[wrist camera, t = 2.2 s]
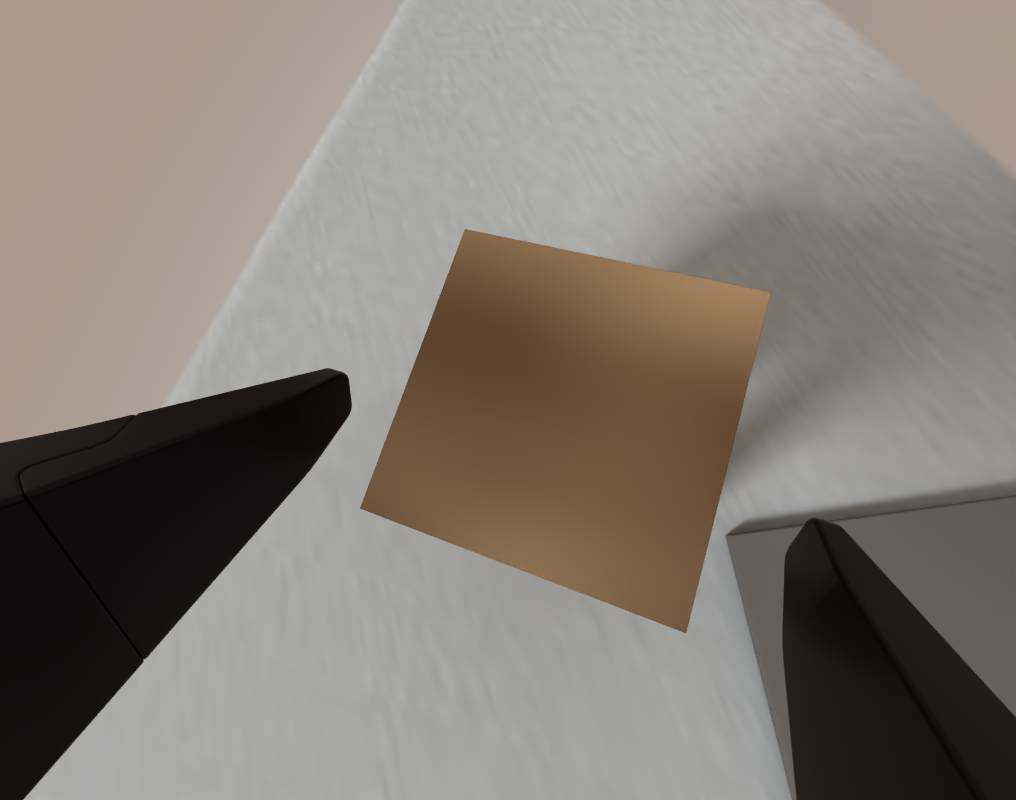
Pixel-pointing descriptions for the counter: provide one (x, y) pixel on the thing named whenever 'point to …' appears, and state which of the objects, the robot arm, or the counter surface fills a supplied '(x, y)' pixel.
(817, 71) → the counter surface
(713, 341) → the stool
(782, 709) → the mat
